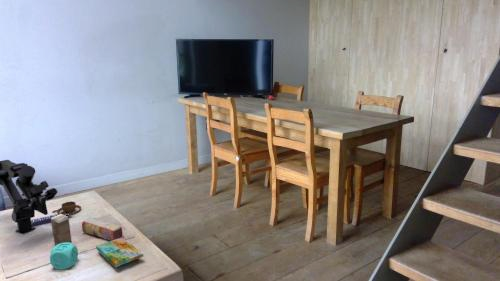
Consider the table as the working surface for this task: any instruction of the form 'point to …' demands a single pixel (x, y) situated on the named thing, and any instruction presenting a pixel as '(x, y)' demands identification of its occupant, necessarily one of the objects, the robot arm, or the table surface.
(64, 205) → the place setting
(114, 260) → the puzzle game
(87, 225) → the snack package
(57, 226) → the walnut block
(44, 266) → the table surface
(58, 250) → the decorative dice
